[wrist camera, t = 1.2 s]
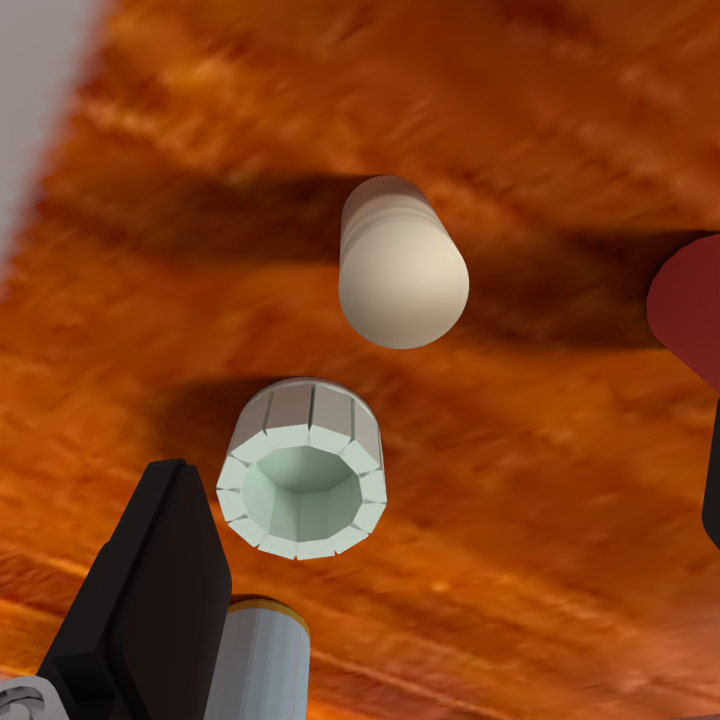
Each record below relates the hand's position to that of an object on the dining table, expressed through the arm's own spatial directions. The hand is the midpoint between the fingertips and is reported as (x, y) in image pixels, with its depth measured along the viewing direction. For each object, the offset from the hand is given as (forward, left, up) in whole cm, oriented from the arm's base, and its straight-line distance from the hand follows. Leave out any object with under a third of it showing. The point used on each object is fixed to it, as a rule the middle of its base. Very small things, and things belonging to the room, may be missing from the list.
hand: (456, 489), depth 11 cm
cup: (+12, -6, -20) cm, 24 cm away
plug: (0, 0, -20) cm, 20 cm away
